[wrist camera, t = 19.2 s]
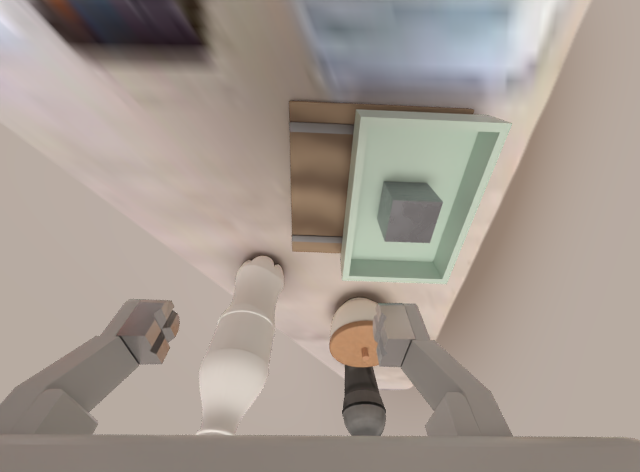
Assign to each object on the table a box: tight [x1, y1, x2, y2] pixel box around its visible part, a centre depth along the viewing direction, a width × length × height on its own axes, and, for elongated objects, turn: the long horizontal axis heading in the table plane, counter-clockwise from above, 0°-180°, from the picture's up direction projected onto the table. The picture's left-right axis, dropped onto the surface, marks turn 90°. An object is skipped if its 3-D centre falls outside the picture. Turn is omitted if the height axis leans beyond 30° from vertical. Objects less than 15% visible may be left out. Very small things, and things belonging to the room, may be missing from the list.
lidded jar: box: [330, 297, 379, 367], centre depth 44 cm, size 11×11×9 cm
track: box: [289, 101, 474, 253], centre depth 34 cm, size 20×20×1 cm
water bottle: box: [196, 256, 284, 435], centre depth 32 cm, size 7×7×25 cm
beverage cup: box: [342, 365, 386, 436], centre depth 46 cm, size 7×7×20 cm
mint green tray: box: [340, 109, 512, 284], centre depth 32 cm, size 20×14×6 cm
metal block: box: [377, 181, 443, 243], centre depth 30 cm, size 5×5×5 cm
